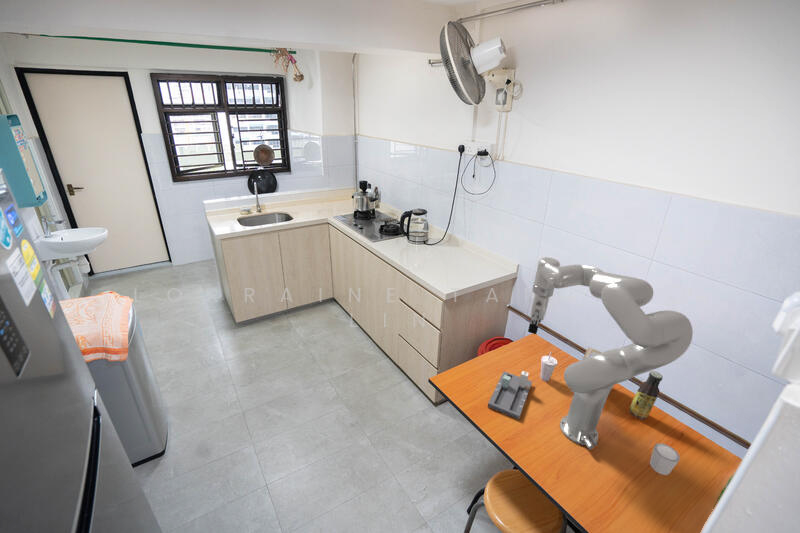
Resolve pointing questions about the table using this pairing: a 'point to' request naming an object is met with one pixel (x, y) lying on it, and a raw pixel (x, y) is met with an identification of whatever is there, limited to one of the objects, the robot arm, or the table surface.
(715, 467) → the table surface
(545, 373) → the smoothie
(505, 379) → the fader teal
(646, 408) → the sauce bottle
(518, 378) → the console
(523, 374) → the block
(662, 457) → the white short cylinder
